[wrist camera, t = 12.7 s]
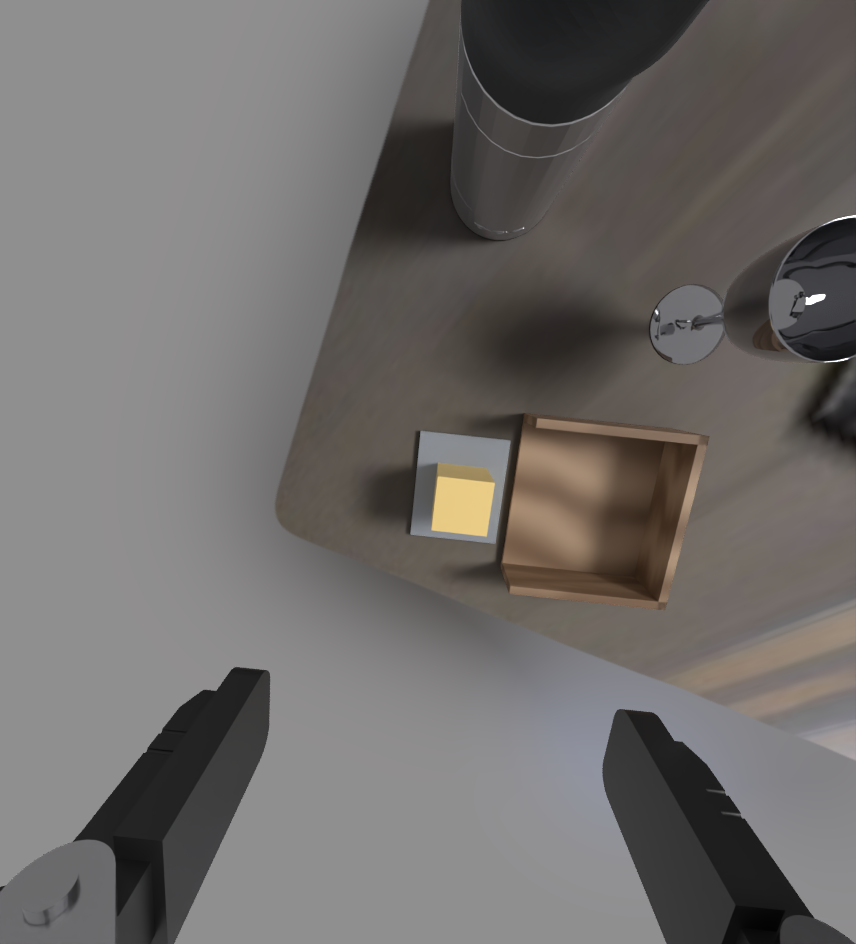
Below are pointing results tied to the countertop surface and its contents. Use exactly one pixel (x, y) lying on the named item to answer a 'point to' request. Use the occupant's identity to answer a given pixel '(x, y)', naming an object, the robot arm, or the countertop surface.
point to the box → (599, 510)
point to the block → (462, 499)
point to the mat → (457, 453)
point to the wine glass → (772, 304)
